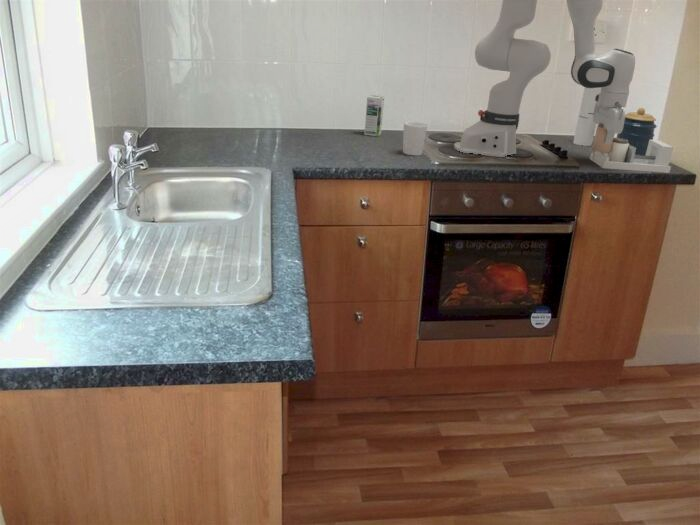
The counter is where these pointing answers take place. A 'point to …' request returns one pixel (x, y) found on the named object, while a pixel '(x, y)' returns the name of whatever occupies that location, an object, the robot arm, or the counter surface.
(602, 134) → the jar
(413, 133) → the white cup
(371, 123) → the syrup box
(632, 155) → the pusher
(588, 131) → the cylindrical container
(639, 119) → the canister
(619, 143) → the lane jar
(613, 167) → the white tray
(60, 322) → the counter surface
